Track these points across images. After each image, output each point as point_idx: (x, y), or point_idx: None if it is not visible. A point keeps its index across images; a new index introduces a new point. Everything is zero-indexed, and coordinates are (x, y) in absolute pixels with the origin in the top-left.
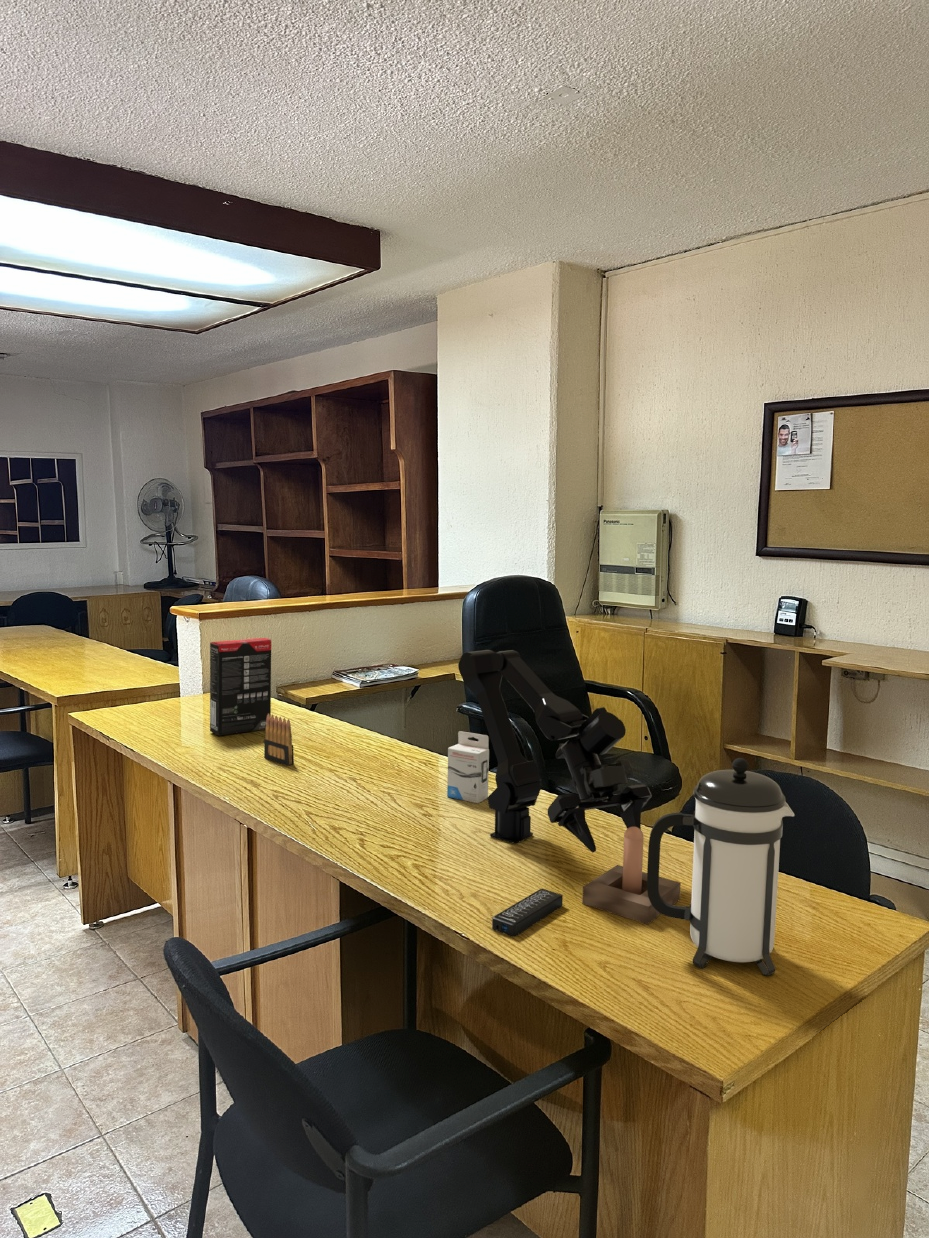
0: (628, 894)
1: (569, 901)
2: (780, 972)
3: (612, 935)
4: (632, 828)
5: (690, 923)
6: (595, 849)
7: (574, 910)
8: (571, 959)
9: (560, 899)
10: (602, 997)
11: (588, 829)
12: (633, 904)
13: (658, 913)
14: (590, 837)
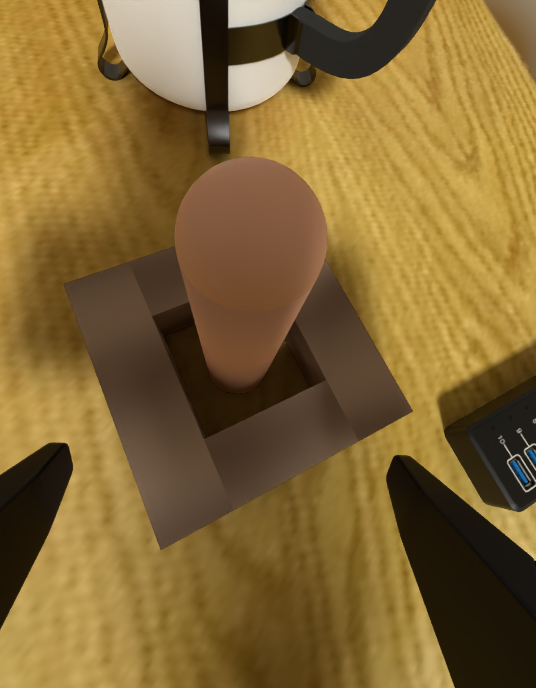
0: None
1: (413, 448)
2: None
3: (395, 237)
4: (284, 186)
5: (284, 61)
6: (402, 455)
7: (424, 388)
8: (520, 203)
9: (473, 419)
10: (513, 97)
11: (505, 573)
12: None
13: None
14: (460, 513)
